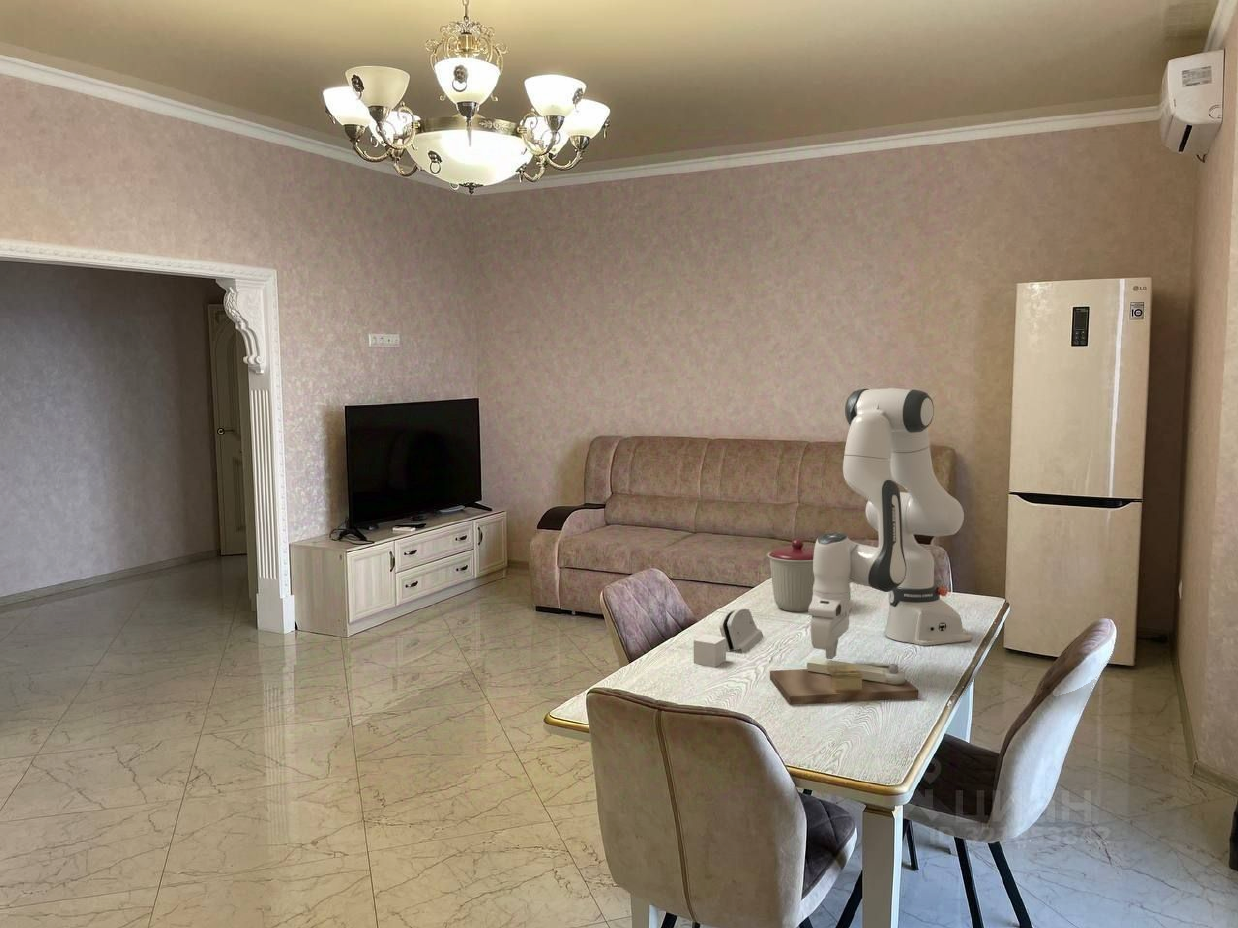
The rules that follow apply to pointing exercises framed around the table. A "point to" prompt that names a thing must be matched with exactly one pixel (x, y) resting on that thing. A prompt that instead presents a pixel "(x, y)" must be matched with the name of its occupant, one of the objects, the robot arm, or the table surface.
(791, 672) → the board
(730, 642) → the hinge
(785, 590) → the canister
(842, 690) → the block
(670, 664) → the table surface
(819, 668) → the link
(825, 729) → the table surface
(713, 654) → the light grey cube
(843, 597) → the robot arm
